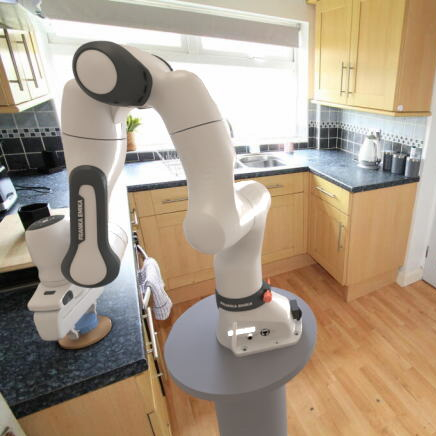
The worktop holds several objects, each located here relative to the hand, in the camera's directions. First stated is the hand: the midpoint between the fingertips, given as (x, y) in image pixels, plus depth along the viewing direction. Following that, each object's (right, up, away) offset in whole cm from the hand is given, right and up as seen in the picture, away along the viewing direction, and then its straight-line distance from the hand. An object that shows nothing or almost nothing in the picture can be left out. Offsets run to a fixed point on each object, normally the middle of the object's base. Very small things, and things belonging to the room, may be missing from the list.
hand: (84, 327), depth 81 cm
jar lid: (0, +1, -1) cm, 2 cm away
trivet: (0, -2, +1) cm, 2 cm away
